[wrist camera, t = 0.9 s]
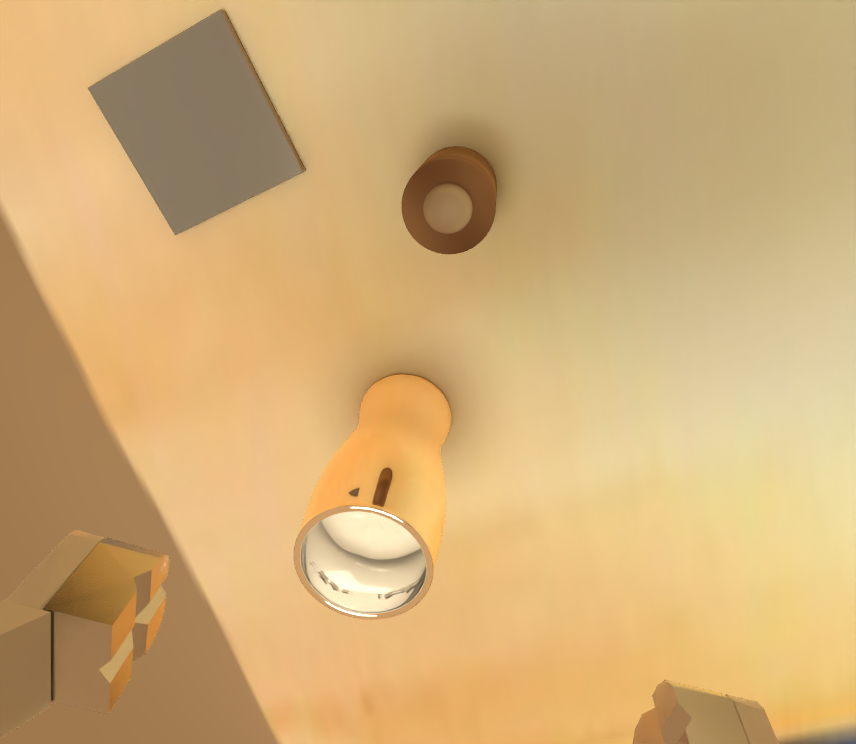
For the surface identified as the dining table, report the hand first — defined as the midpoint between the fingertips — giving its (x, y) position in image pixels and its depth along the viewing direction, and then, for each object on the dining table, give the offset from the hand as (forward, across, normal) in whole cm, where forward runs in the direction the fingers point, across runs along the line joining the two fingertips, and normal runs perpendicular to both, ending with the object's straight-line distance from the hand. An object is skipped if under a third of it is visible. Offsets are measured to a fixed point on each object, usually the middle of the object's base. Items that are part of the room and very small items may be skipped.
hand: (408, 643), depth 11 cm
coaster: (+31, +17, -2) cm, 35 cm away
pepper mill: (+31, +2, -2) cm, 31 cm away
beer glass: (+31, +1, +13) cm, 34 cm away
